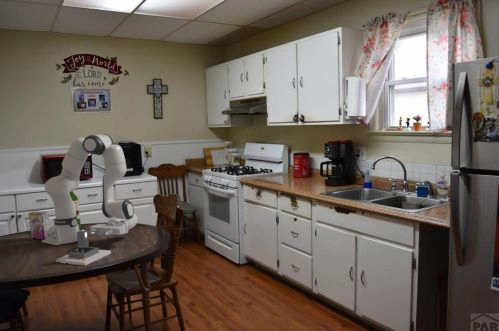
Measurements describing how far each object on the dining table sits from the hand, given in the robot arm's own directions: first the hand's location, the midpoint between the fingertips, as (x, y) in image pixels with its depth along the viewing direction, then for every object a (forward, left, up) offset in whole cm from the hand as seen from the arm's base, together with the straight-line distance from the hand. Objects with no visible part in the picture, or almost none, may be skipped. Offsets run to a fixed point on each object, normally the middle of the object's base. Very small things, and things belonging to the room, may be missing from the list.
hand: (97, 233), depth 210 cm
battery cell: (0, -11, -8) cm, 13 cm away
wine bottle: (-52, +34, -10) cm, 63 cm away
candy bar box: (-56, +12, -10) cm, 58 cm away
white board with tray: (0, -11, -10) cm, 14 cm away
